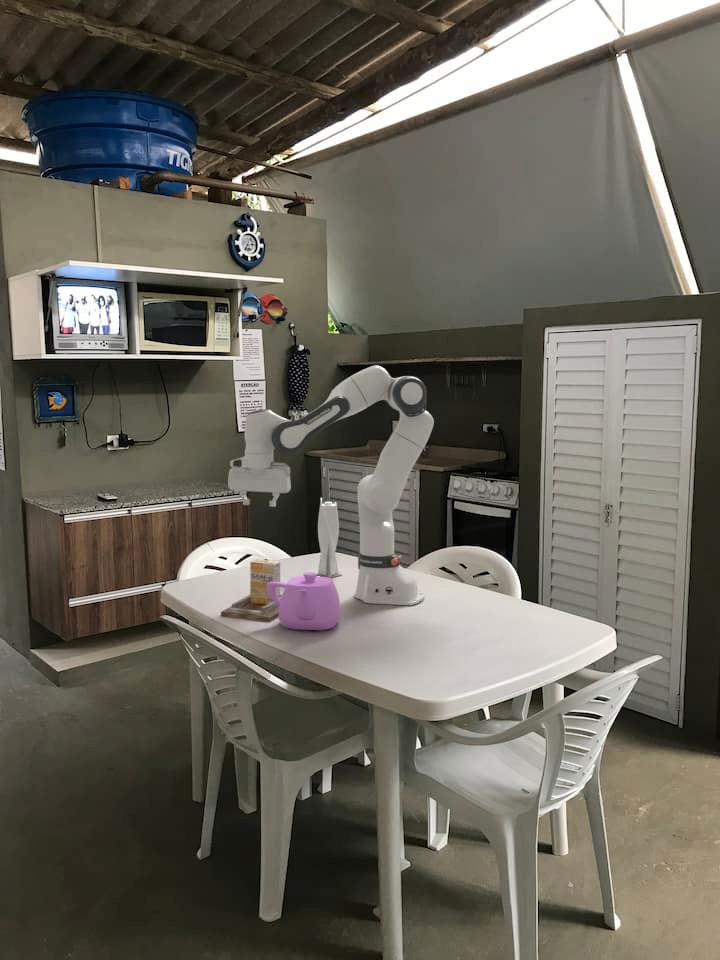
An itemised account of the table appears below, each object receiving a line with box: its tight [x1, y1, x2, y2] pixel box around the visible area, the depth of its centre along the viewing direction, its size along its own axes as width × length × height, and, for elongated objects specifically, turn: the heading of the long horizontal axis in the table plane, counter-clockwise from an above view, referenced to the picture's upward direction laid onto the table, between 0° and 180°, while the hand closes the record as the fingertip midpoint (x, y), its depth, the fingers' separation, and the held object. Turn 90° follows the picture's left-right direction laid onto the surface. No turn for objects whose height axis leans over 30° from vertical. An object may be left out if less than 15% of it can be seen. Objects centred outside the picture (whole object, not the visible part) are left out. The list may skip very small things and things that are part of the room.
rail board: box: [220, 593, 283, 623], centre depth 234 cm, size 16×22×3 cm
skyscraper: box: [316, 497, 343, 579], centre depth 275 cm, size 8×8×28 cm
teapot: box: [267, 571, 342, 632], centre depth 215 cm, size 23×21×15 cm
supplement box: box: [249, 558, 281, 605], centre depth 236 cm, size 8×5×13 cm, turn 70°
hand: (259, 505), depth 241 cm, fingers open, 8 cm apart
